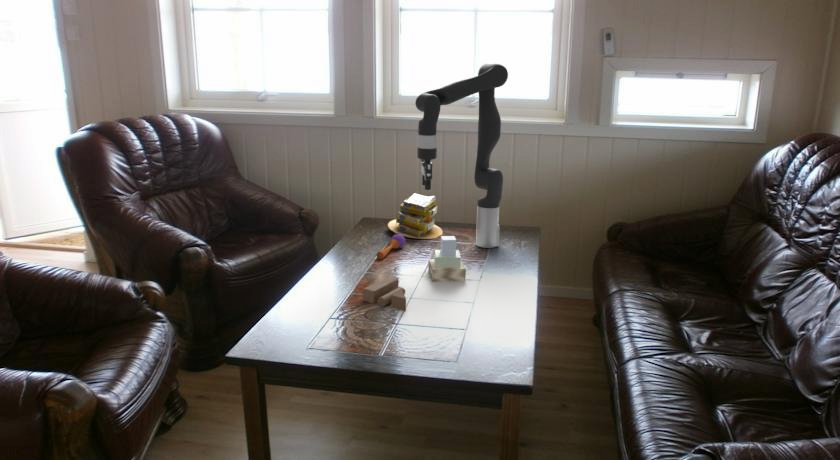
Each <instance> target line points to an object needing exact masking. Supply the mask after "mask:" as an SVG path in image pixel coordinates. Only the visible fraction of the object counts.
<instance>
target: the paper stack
mask: <svg viewBox="0 0 840 460" xmlns="http://www.w3.org/2000/svg"><path fill="white" fill-rule="evenodd" d="M436 201H437V198H436V196H435V195H430V196H427V195H424V194H419V193H416V192H415V193H413V194H412V195H409V196H408V197H407V198H406V199H405V200H403V202H402V203H401V204H400V205H399V210H397V212H398V213H397V214H396V218H395V219H392V220H389V222H388V223H387V227H388V229H390V231H392V232H393V233H395V234H400V235H402V236H403V237H406V238H412V239H419V240H429V239H436V238H438V237H441V236H443V233H444V232H443V229H442V228H441V227H439V226H438V225H436V224H435V223H436V222H435V221H436V219H435V218H434V216H435V215H436V214H437V212H438V209H439V206H438V205H436Z"/></svg>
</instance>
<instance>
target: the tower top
mask: <svg viewBox="0 0 840 460" xmlns="http://www.w3.org/2000/svg"><path fill="white" fill-rule="evenodd" d="M434 259H435V267H436V268H460V266H461V261H462V256H461V253H460V250H459V249H456V256H442V254H441V252H440V249H434Z"/></svg>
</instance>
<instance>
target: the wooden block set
mask: <svg viewBox="0 0 840 460" xmlns="http://www.w3.org/2000/svg"><path fill="white" fill-rule="evenodd" d="M362 301H364V302H367V303H370V304H376V303H377V305H378V306H380V307H382V308H384V307H385V306H388V305H389V304H391V308H392V309H395V310H399V311H403V312H406V311H407V298H406V289H405V288H404V287H403V286H399V278H398V277H397V276H396V275H392V274H391V275H390V276H387V277H386V278H383V280H380V281H376V282H374V283H372V284H370V285H368V286H366V287H364V288H363V289H362Z"/></svg>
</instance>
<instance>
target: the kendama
mask: <svg viewBox="0 0 840 460" xmlns="http://www.w3.org/2000/svg"><path fill="white" fill-rule="evenodd" d="M405 244H406V238H405V236H403V235H400V234H398V233H395V234H394V235H393V236H391V238H390V242H389V246H386V247H385V248H383V249H381V250H379V251H377V252H376V255H375V256H376V257H377V259H379V260H383V259H384V258H385V257H386V256H387V254H388V253H389V252H390V251H391V250H392V249H401V248H403V247H404V246H405Z"/></svg>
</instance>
